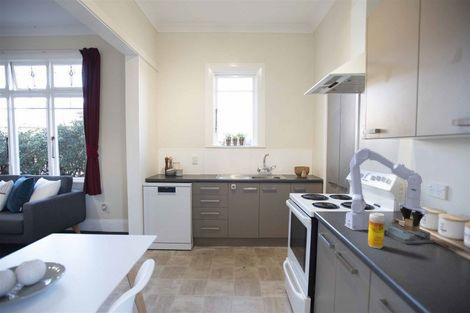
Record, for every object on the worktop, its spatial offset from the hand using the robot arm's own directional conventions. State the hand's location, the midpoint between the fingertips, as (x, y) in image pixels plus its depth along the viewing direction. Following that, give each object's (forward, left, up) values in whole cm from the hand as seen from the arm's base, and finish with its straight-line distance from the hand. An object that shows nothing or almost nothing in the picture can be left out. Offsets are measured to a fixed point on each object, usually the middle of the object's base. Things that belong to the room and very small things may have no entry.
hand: (411, 224), depth 121 cm
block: (0, 0, -3) cm, 3 cm away
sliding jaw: (-7, 0, -5) cm, 9 cm away
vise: (-1, 0, -7) cm, 7 cm away
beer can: (-25, -6, -7) cm, 26 cm away
